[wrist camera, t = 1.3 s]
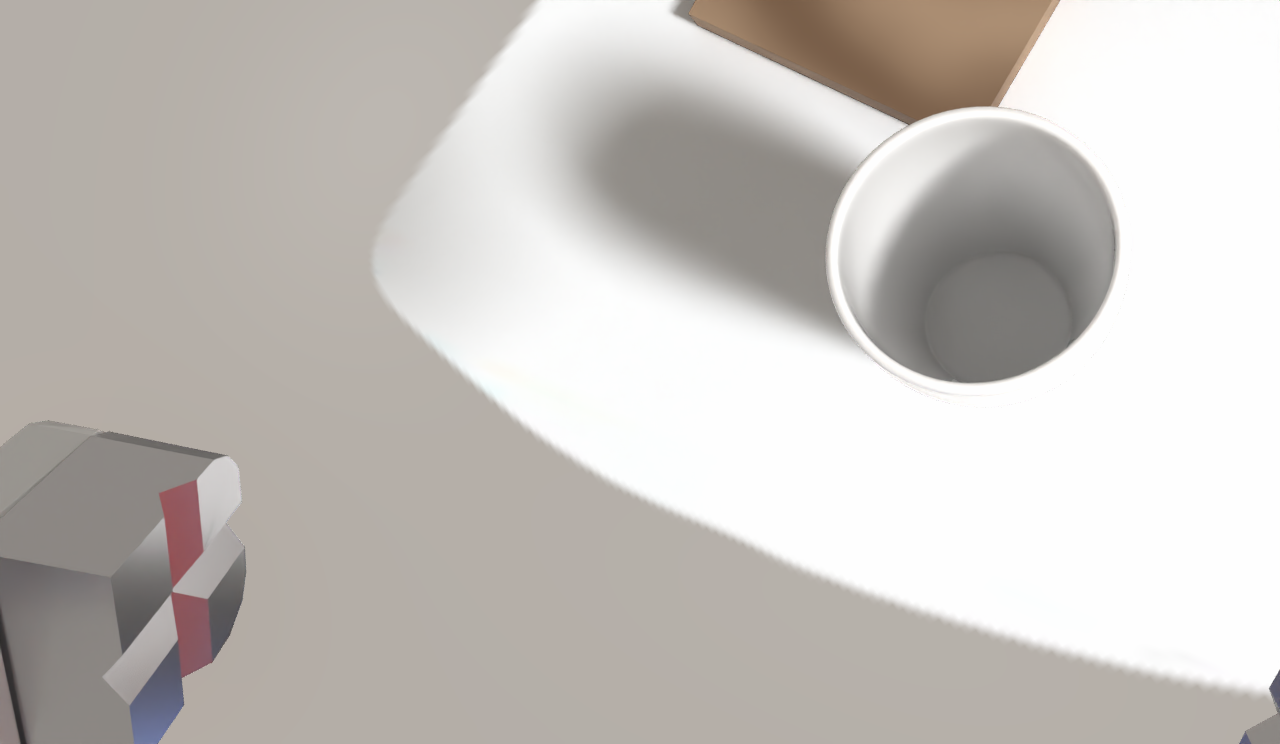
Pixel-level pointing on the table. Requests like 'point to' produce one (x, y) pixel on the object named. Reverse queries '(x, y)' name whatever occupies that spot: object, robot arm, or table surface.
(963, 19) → the walnut board
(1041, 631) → the table surface
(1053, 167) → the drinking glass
